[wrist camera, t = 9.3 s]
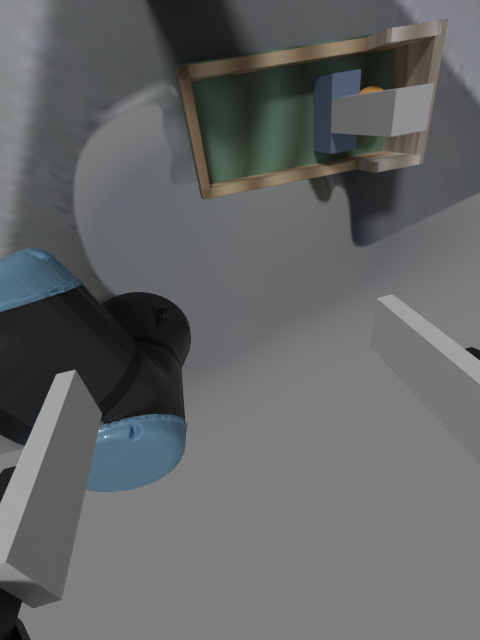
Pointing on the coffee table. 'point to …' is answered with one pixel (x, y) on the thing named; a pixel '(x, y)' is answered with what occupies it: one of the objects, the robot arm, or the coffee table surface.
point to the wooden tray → (298, 108)
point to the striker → (364, 111)
